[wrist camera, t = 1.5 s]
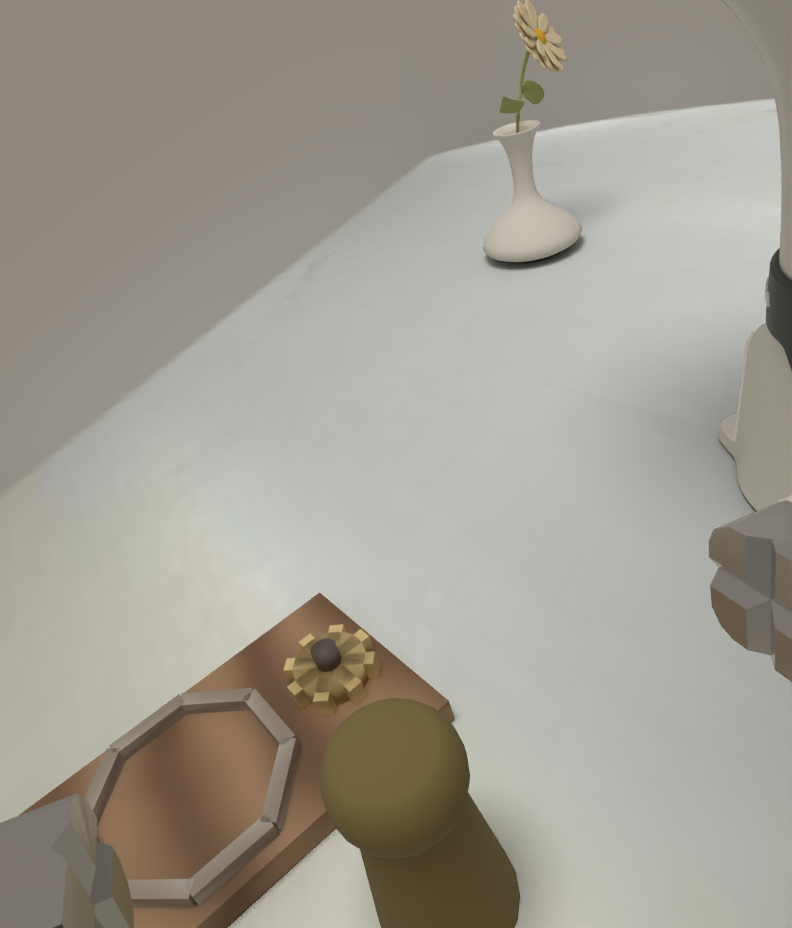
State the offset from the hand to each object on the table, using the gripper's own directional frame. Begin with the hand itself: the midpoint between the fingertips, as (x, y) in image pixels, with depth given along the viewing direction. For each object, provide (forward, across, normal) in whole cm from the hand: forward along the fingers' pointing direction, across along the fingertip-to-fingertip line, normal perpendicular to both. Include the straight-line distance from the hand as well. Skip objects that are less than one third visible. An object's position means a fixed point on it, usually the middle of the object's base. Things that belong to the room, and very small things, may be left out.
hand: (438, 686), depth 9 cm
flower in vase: (+72, -42, +10) cm, 84 cm away
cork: (+14, -2, +23) cm, 27 cm away
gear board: (+23, +8, +22) cm, 33 cm away
